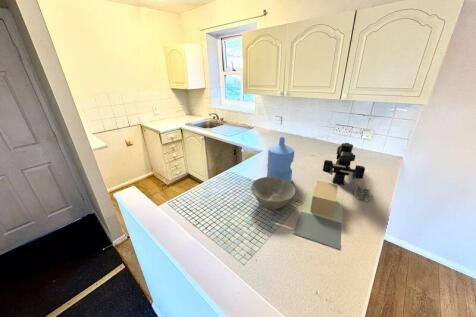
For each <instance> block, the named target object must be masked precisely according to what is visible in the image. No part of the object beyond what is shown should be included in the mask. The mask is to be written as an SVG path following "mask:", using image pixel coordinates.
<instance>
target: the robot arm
mask: <svg viewBox="0 0 476 317" xmlns="http://www.w3.org/2000/svg"><path fill="white" fill-rule="evenodd" d="M353 148H354V145H353V144H351V143H350V142H345V143H344V142H342V143H341V144H340V145H339V146H338V147H337V149H336V158H335V159H336V161H335V163H333V162H334V161H332V160H329V159H325V160H324V161H323V167H322V172H324V173H327V174H330V175H331V176H332V175H333V174H334V177H332V184H336V185H345V180H346V179H345V178H346V176H349V175H350V174H352V177H351V179H352V180H356V179H358V180H359V179H360V180H361V179H363V177H364V174H365V171H366V167H365V165H364V166H362V165H357V164H356V165H355V168H351V162H355V159H356V154H354V153H353V150H354V149H353Z"/></svg>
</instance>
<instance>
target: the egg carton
mask: <svg viewBox="0 0 476 317" xmlns="http://www.w3.org/2000/svg"><path fill="white" fill-rule="evenodd" d="M358 191H359V195H358ZM371 191H372V190H371V189H370V188H367V187H366V188H365V187H361V186H360V185H358V184H355V187H354V198H356V199H357V200H359V199H361V200H363V201H366V202H369V201H370V198H371V194H372V193H371Z"/></svg>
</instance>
